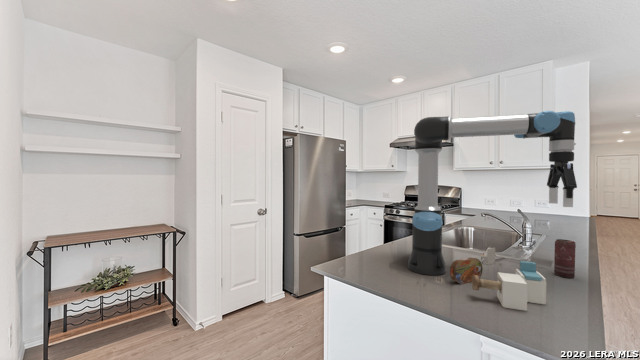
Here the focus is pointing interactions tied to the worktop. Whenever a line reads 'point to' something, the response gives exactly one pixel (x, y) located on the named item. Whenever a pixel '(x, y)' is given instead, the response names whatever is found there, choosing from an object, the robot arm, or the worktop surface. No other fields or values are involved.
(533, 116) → the robot arm
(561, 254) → the can
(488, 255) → the architectural model
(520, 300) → the cream block
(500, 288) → the pin
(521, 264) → the teal toy chair
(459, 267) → the tin
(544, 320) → the worktop surface
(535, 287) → the block
